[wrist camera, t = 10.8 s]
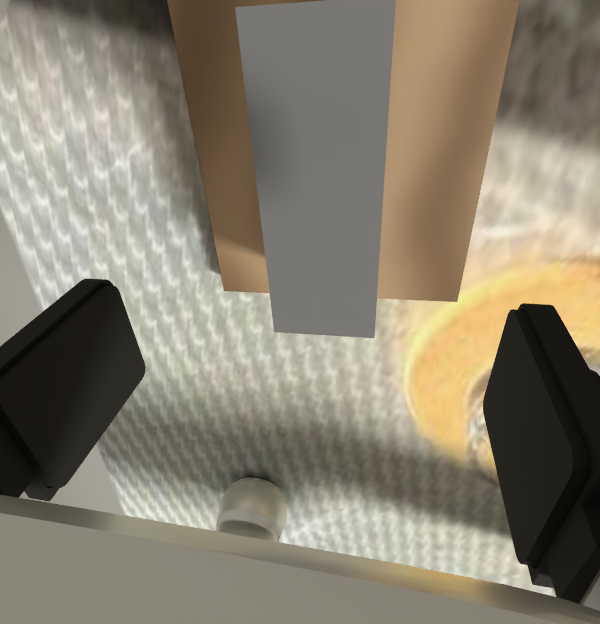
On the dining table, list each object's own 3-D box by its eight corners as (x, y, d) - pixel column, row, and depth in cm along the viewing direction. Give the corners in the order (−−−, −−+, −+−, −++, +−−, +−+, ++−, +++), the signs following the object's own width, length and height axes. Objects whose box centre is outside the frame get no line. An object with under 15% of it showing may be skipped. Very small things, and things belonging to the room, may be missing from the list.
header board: (524, -75, 15) (580, -107, 11) (453, 287, 25) (468, 347, 20) (173, -41, 18) (103, -57, 13) (231, 278, 27) (201, 330, 23)
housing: (392, -2, 16) (396, -5, 11) (376, 270, 23) (374, 338, 18) (277, 7, 17) (235, 7, 12) (296, 267, 24) (274, 331, 19)
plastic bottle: (215, 473, 42) (112, 758, 26) (271, 463, 39) (194, 775, 23) (248, 507, 45) (174, 780, 29) (303, 500, 42) (253, 798, 26)
